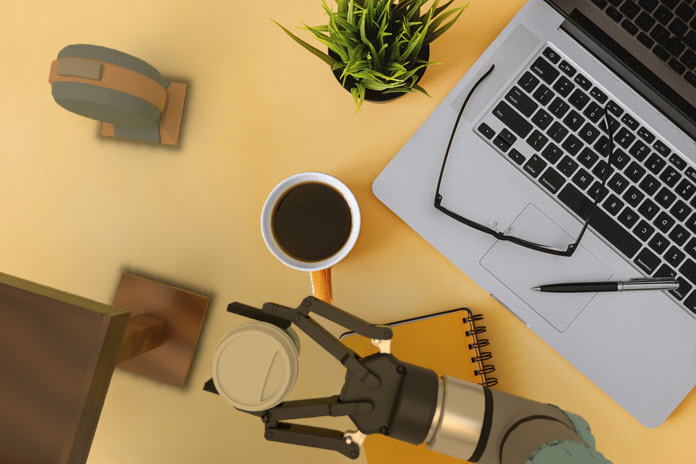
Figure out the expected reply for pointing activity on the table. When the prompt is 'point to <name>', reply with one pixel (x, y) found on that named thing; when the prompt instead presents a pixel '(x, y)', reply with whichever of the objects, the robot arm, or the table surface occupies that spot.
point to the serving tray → (53, 370)
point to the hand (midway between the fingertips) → (219, 344)
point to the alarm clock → (118, 93)
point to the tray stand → (159, 328)
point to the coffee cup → (256, 365)
